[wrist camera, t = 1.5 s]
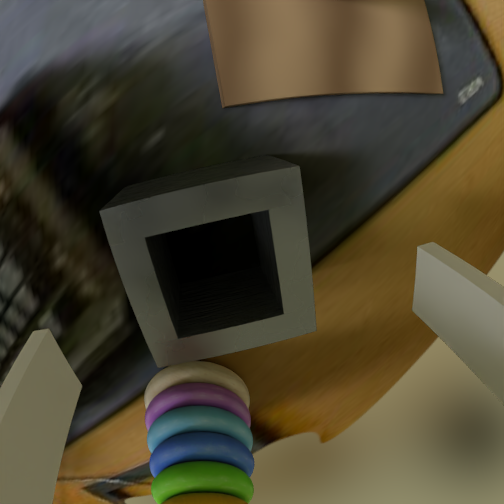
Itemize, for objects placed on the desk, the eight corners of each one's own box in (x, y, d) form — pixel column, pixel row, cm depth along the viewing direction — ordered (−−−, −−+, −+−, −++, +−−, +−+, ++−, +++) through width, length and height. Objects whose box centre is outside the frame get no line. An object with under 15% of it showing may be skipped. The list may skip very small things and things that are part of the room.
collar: (163, 309, 20) (157, 367, 14) (126, 186, 16) (99, 211, 11) (286, 281, 20) (316, 331, 15) (267, 154, 17) (299, 166, 12)
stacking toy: (259, 361, 22) (347, 614, 5) (234, 426, 25) (282, 623, 8) (149, 347, 20) (147, 638, 3) (143, 418, 23) (147, 630, 6)
